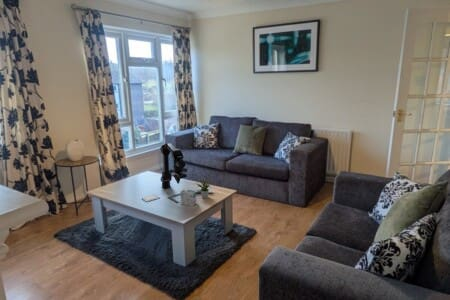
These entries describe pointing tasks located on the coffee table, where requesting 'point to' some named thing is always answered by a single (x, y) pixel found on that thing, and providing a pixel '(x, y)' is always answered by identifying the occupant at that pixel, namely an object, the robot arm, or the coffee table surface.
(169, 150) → the robot arm
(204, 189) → the house plant
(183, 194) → the light bulb box
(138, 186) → the coffee table surface
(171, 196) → the label frame
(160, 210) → the coffee table surface
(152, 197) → the label plate
